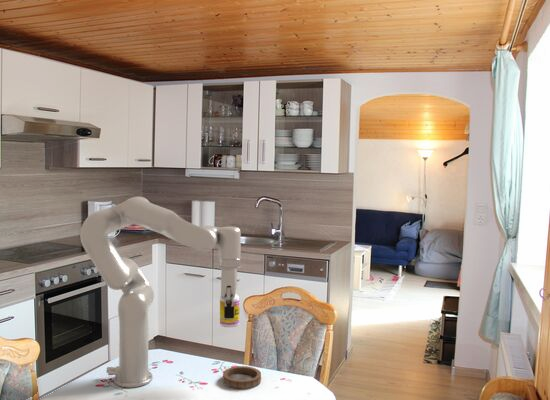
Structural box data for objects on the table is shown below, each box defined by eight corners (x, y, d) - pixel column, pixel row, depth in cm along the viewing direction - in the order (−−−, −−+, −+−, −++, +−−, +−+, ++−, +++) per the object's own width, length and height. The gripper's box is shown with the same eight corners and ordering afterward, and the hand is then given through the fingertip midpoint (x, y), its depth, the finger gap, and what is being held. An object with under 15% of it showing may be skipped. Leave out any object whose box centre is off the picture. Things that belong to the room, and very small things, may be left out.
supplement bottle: (236, 328, 167) (236, 290, 166) (217, 327, 168) (217, 289, 167) (241, 322, 173) (241, 286, 172) (223, 321, 175) (223, 285, 174)
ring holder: (221, 389, 165) (222, 381, 165) (224, 373, 178) (224, 365, 178) (260, 389, 166) (261, 381, 166) (260, 373, 179) (260, 366, 179)
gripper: (220, 258, 178) (220, 307, 179) (216, 268, 161) (216, 322, 162) (241, 258, 178) (241, 307, 179) (239, 268, 161) (239, 322, 162)
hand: (229, 314), depth 170 cm, fingers closed on supplement bottle, 6 cm apart
